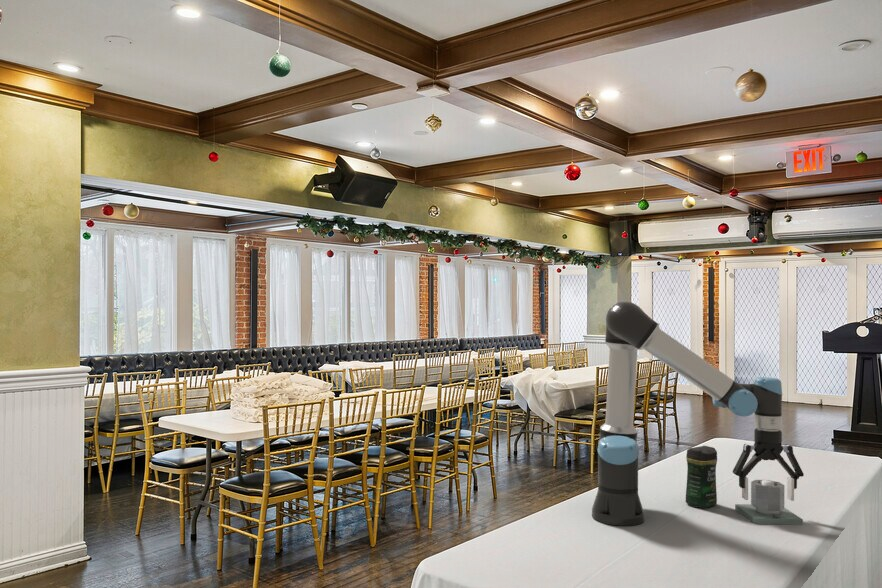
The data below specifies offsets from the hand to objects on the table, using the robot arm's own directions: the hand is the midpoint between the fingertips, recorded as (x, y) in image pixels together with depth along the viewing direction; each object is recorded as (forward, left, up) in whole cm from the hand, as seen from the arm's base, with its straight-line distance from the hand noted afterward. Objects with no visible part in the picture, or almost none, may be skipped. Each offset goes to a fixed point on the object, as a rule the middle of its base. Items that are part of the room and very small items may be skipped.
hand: (767, 499), depth 206 cm
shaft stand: (0, 0, -5) cm, 5 cm away
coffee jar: (-16, +11, -6) cm, 20 cm away
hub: (0, 0, -2) cm, 2 cm away
